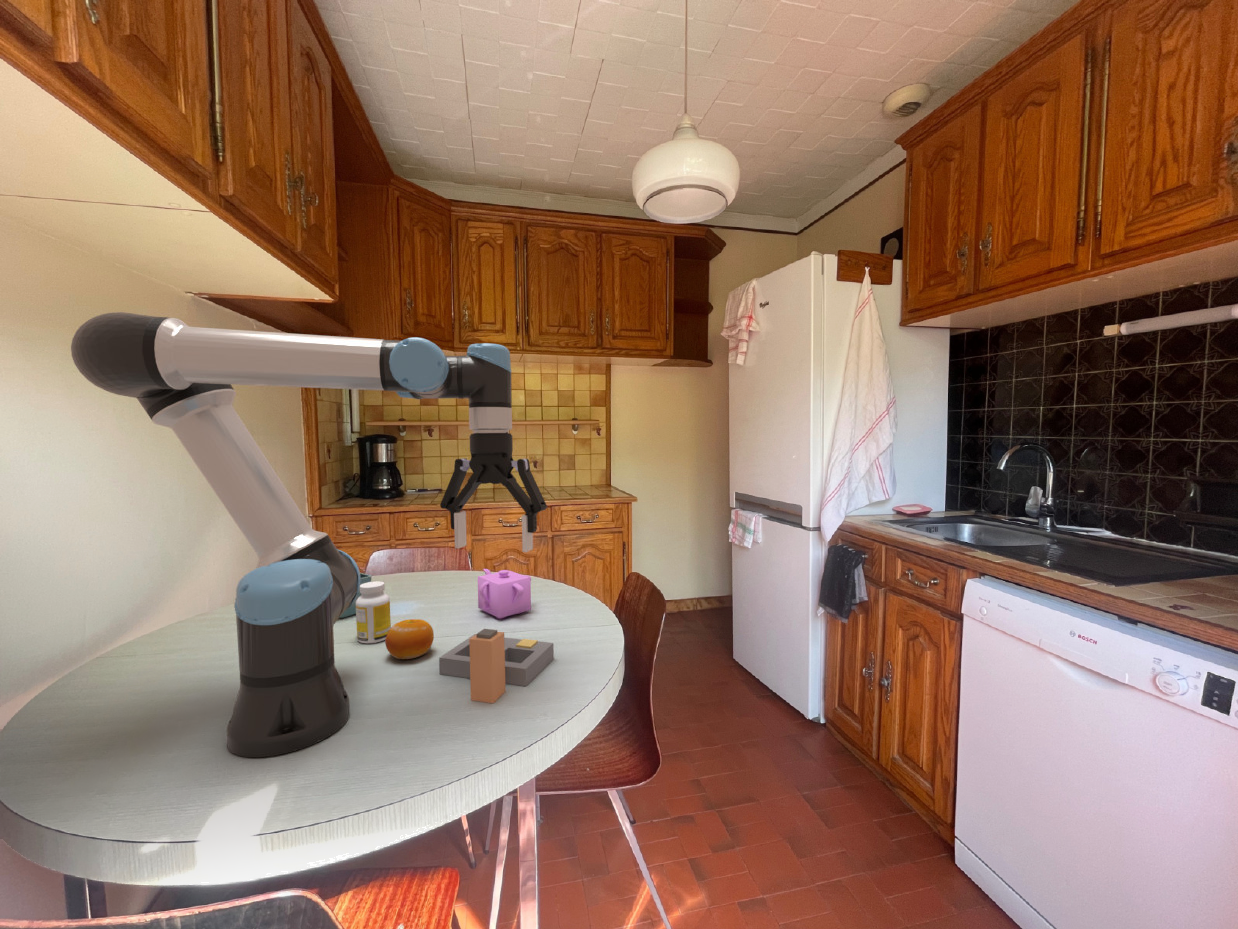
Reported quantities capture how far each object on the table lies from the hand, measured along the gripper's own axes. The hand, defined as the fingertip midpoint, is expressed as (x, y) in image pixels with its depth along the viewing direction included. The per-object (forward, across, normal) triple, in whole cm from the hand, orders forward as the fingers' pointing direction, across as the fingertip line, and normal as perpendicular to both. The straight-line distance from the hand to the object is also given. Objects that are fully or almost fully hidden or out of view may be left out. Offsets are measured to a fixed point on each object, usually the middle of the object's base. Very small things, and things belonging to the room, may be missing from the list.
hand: (493, 548), depth 95 cm
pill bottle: (+22, +31, -5) cm, 39 cm away
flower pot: (+22, +49, -16) cm, 56 cm away
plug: (+22, -4, +10) cm, 25 cm away
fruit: (+22, +18, 0) cm, 29 cm away
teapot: (+22, +13, -28) cm, 38 cm away
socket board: (+22, -1, 0) cm, 22 cm away
